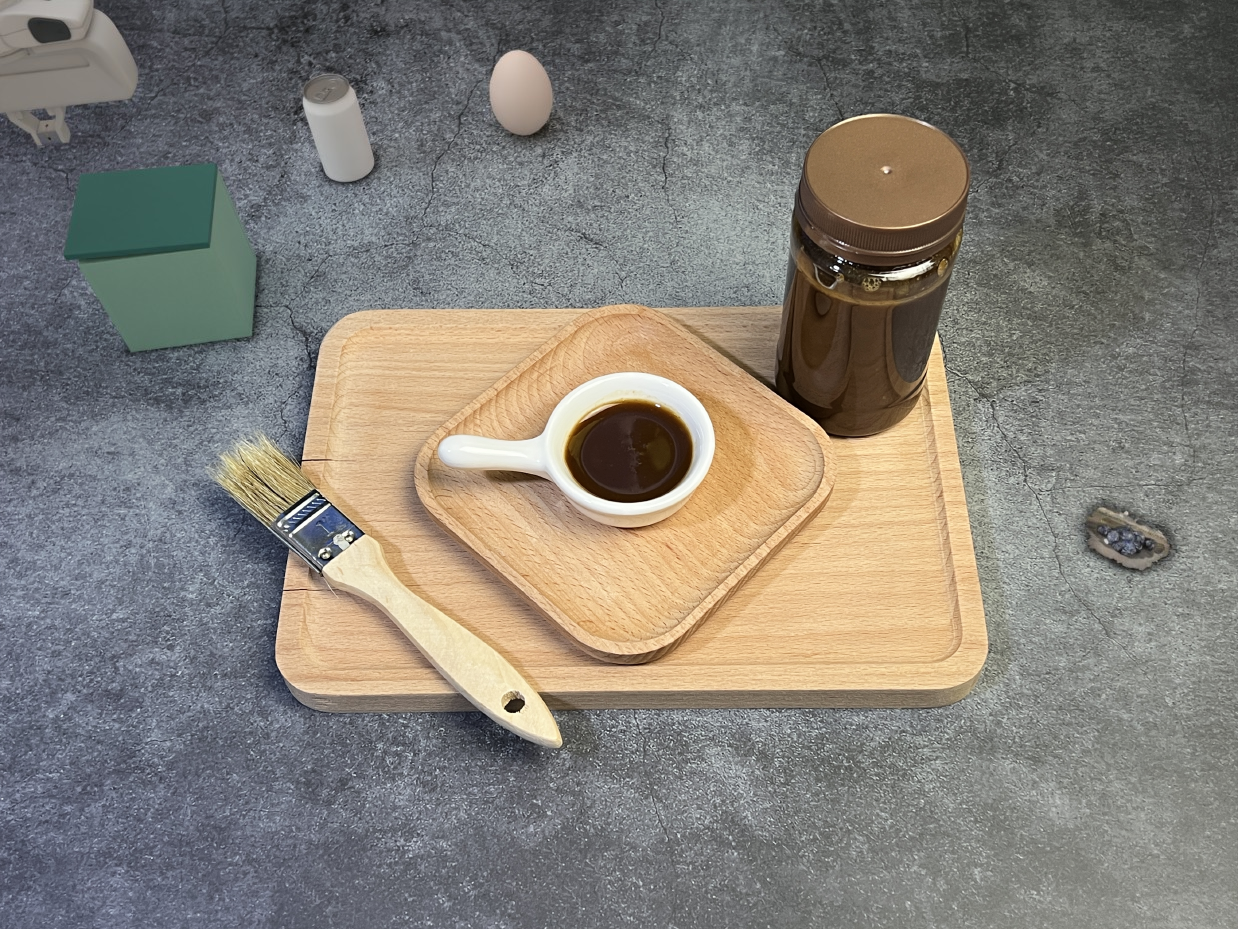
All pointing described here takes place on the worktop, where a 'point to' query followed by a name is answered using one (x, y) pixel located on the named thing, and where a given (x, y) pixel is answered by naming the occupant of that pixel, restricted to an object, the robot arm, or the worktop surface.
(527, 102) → the egg
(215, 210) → the box
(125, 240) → the lid
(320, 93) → the can
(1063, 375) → the worktop surface
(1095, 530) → the blueberries
